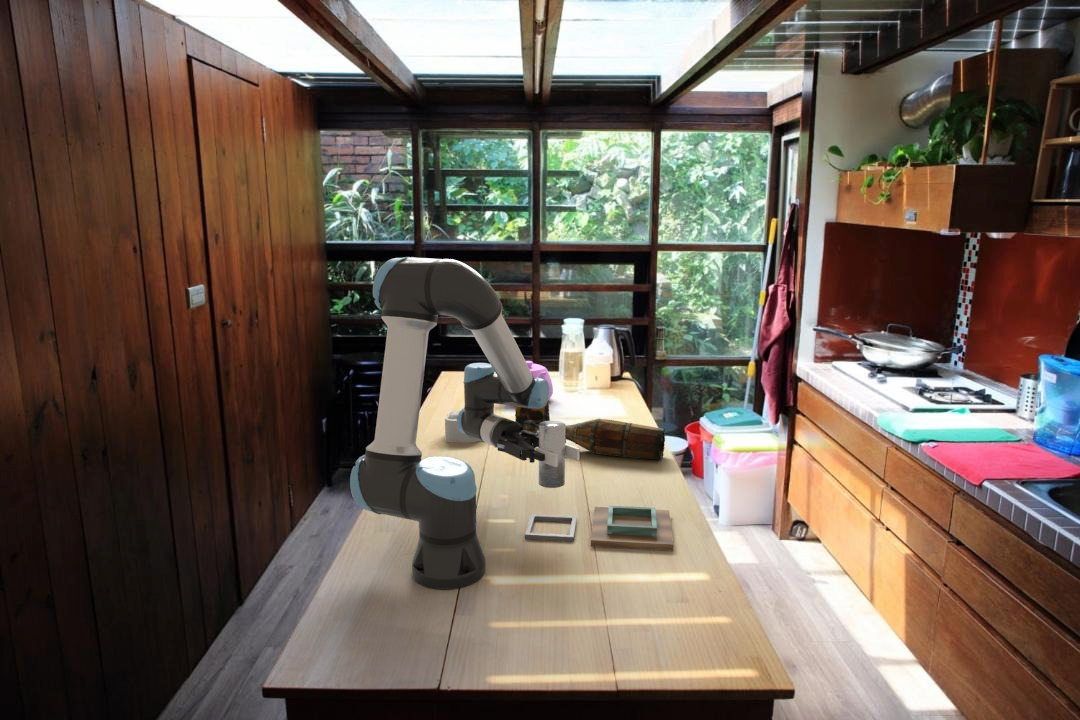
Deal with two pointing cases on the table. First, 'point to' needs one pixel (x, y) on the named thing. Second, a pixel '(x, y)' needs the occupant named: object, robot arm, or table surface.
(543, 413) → the candle
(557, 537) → the frame
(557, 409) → the table surface
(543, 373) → the teapot
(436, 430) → the table surface
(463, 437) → the lumpy-topped squat cylinder
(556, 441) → the billet
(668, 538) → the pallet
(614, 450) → the decorative bottle
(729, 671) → the table surface
